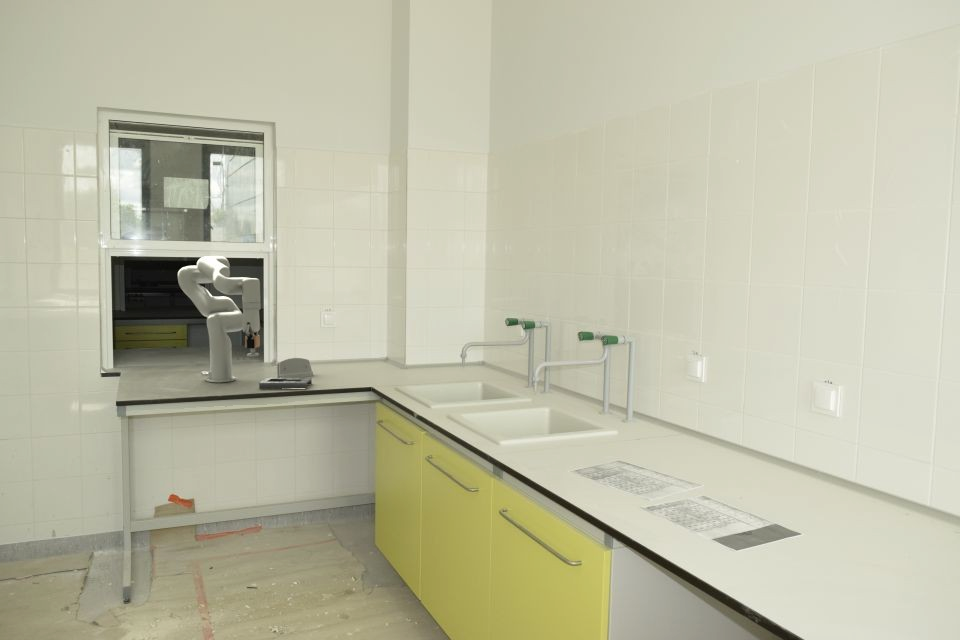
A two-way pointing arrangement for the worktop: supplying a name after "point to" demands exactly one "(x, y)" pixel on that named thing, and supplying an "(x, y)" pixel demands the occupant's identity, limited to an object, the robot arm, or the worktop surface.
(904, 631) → the worktop surface
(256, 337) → the t peg
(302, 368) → the grey arched block
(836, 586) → the worktop surface
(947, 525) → the worktop surface
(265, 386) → the keyhole plate
